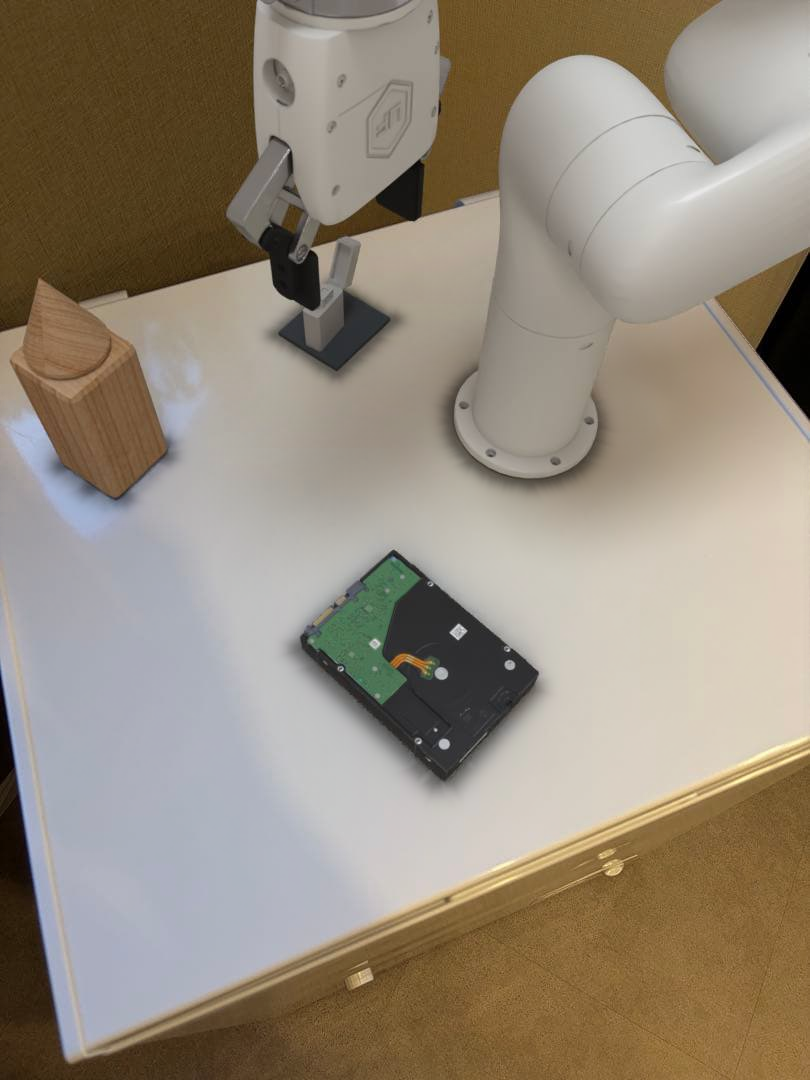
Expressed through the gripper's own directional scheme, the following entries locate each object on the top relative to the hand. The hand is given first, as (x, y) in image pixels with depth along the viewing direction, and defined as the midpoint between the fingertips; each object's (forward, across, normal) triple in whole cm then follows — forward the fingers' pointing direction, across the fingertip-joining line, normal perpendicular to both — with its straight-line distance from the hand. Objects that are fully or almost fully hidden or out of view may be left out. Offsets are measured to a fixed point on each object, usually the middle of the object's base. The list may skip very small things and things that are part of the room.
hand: (349, 252), depth 54 cm
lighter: (+24, +12, +12) cm, 30 cm away
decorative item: (+24, -11, +17) cm, 32 cm away
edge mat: (+24, +12, +12) cm, 30 cm away
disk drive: (+24, -10, -14) cm, 30 cm away
